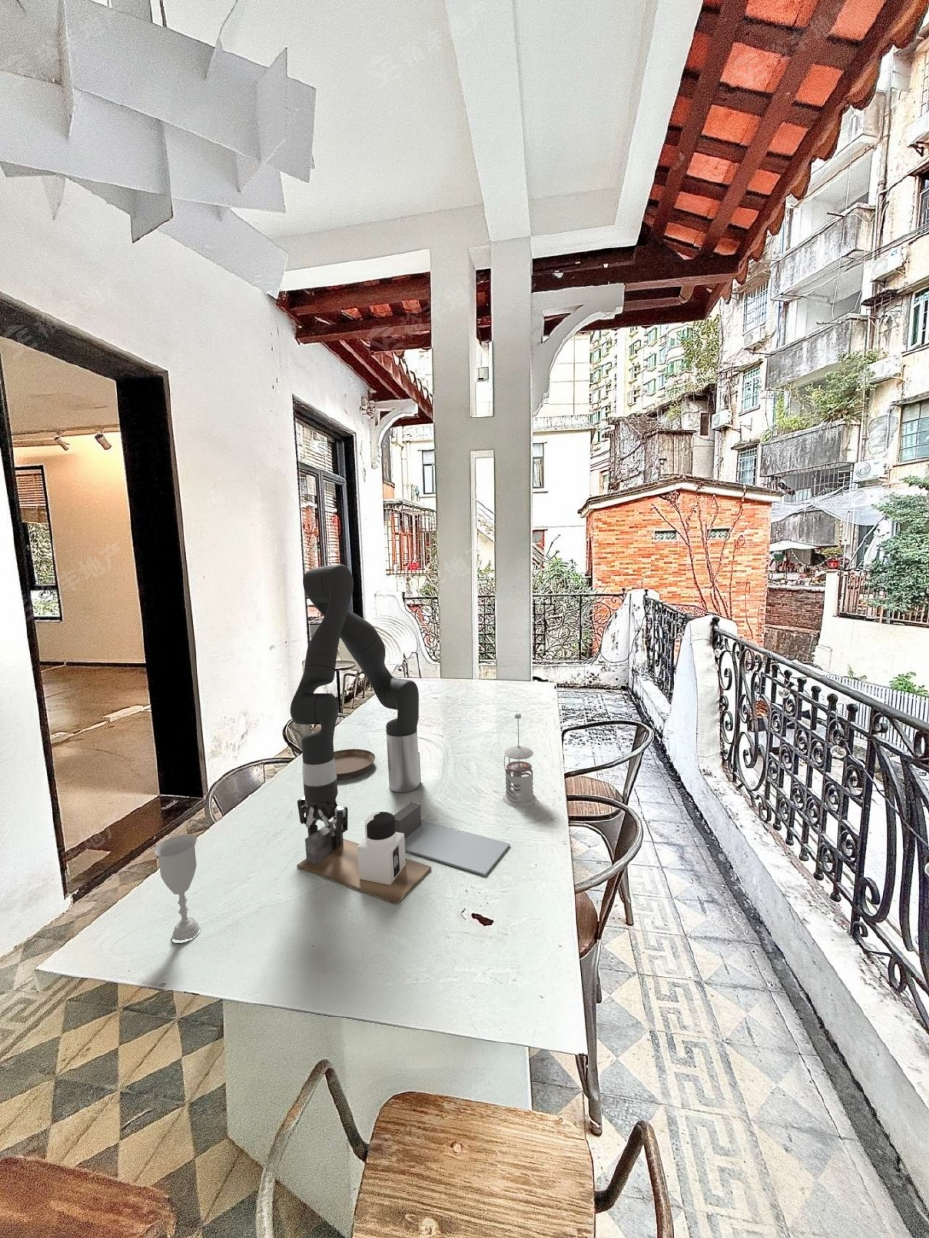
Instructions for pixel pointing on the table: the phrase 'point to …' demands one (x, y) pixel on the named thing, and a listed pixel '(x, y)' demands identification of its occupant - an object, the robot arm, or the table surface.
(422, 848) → the grey board with block
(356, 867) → the brown board
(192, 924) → the chalice
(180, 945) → the table surface
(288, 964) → the table surface
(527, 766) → the french press
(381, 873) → the container
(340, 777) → the plant saucer
